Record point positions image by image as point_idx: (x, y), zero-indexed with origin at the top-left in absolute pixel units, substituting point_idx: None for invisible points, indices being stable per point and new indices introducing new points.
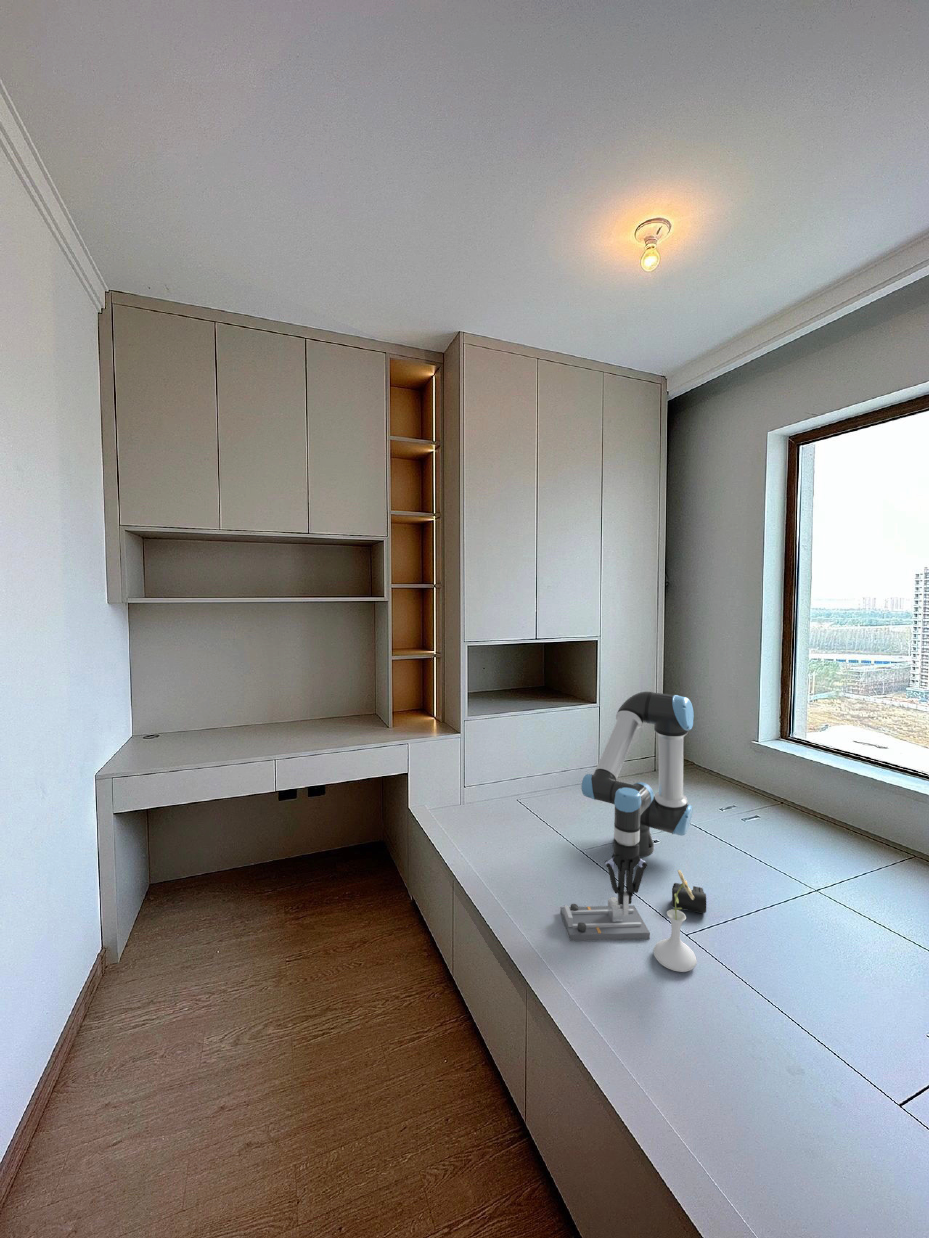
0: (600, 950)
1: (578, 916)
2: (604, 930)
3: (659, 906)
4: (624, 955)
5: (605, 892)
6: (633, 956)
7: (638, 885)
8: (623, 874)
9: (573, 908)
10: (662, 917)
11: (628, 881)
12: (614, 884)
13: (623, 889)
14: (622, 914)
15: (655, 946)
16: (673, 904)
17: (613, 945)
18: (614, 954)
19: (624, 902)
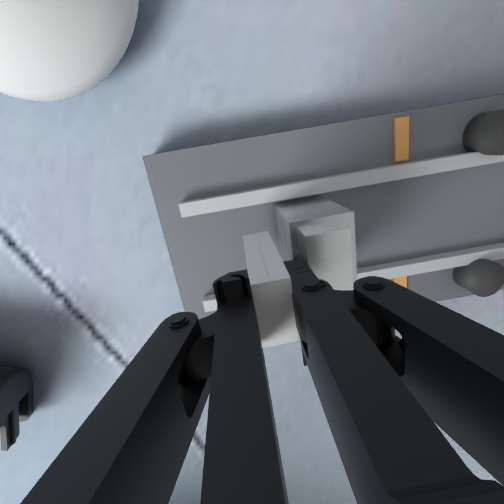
0: (399, 38)
1: (463, 234)
2: (370, 145)
3: (89, 371)
4: (291, 9)
5: (290, 413)
6: (247, 5)
7: (142, 366)
8: (434, 490)
9: (497, 263)
10: (81, 309)
11: (267, 390)
12: (450, 321)
13: (310, 309)
14: (281, 214)
15: (118, 3)
16: (9, 372)
17: (328, 85)
18: (339, 12)
19: (276, 257)
